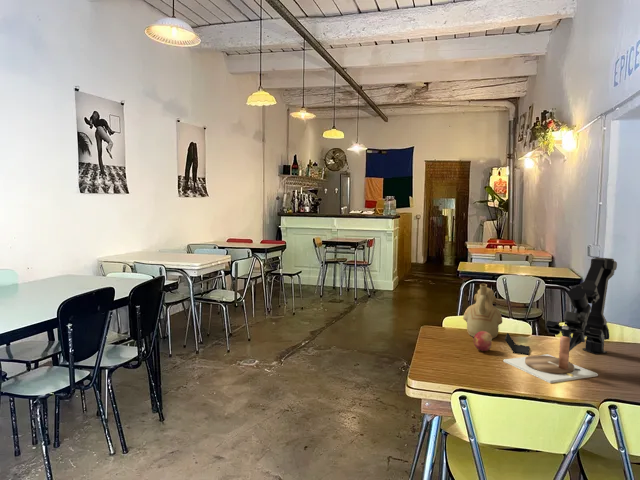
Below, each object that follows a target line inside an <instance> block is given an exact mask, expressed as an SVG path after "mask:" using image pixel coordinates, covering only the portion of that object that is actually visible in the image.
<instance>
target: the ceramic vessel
mask: <svg viewBox="0 0 640 480" xmlns="http://www.w3.org/2000/svg"><path fill="white" fill-rule="evenodd" d="M494 294H495V292H494V290H493V289H492V288H490V287H488V284H486V283H480V284H479V289H478V290H477V293H475V294H474V298H473V300H474V301H475V303H473V304H471V305H469V306H468V307H467V308H466V309H465V312H464V313H463V318H462V319H463V320H464V321H465V322H466V331H467V333H468V335H469V336H471V337H474V336H475V335H476V334H477V333H478V332H481V331H485V332H488V333H489V334H491V335H492V339H495V338H496V337H497V336H498V334H499V330H500V329H499V326H500V325H502V324H503V316H502V313H501V311H500V310H499V309H498V308H497V307H495V306H494V305H493V304H495V302H496V299H497V298H496V296H495V295H494Z"/></svg>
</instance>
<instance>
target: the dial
mask: <svg viewBox="0 0 640 480" xmlns="http://www.w3.org/2000/svg"><path fill="white" fill-rule="evenodd" d="M559 337H560V338H559V340H560V341H559V353H558V356H559V357H556V356H554V357H551V356H552V355H551V356H544V355H545V354H540V355H539V354H535V355H533V354H532V355H527V356H525V357H526V358H525V363H526V365H528V366H529V367H531V368H534V369H536V370H540V371H544V372H549V373H557V374H565V373H571V372H573V371H574V365H575V364H574V363H571V362H570V361H569V360H570V351H569V346H570V338H569V337H565V336H562V335H561V336H559ZM573 364H574V365H573Z"/></svg>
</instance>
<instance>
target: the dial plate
mask: <svg viewBox="0 0 640 480" xmlns="http://www.w3.org/2000/svg"><path fill="white" fill-rule="evenodd" d="M543 355H544V356H551V357H555V356H553V355H551V354H547V353H546V354H543ZM526 357H527V356H523V357H522V356H520V357H513V358H505V359H503V361H502V362H503V363H505V364H508V365H510V366H512V367H514V368H516V369H519V370H521V371H523V372H525V373H527V374H529V375H532V376H534V377H535V378H536V377H537V379H540V380H542V381H545V382H546V383H548V384H553V383H559V382H566V381H573V380H580V379H587V378H592V377H593V378H594V377H598V376H599V374H598V373H597V372H595V371H592V370H590V369H587V368H584V367H582V366H579V365H577V364H574V363H572V364H573V365H574V371H573V372H571V373H565V374H557V373H549V372H544V371H540V370H536V369H534V368H531V367H529V366H528V365H526V363H525V358H526Z"/></svg>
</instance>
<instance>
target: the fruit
mask: <svg viewBox="0 0 640 480" xmlns="http://www.w3.org/2000/svg"><path fill="white" fill-rule="evenodd" d="M472 337H473V336H472ZM492 340H493V338H492V335H491V334H489V333H488V332H485V331H481V332H478V333H477V334H476V335H475V336H474V337H473V340H472V341H473V344H474V346H475V348H476V349H477V350H478V351H481V352H487V351H490V350H491V349H492V344H493V343H492Z"/></svg>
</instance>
